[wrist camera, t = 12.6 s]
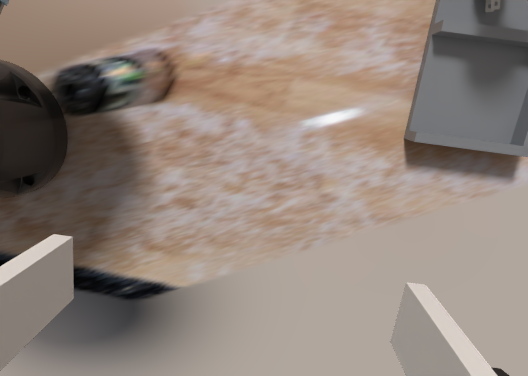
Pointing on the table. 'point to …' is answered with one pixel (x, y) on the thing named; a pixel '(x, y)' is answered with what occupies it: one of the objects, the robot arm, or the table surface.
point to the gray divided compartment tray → (474, 78)
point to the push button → (492, 5)
